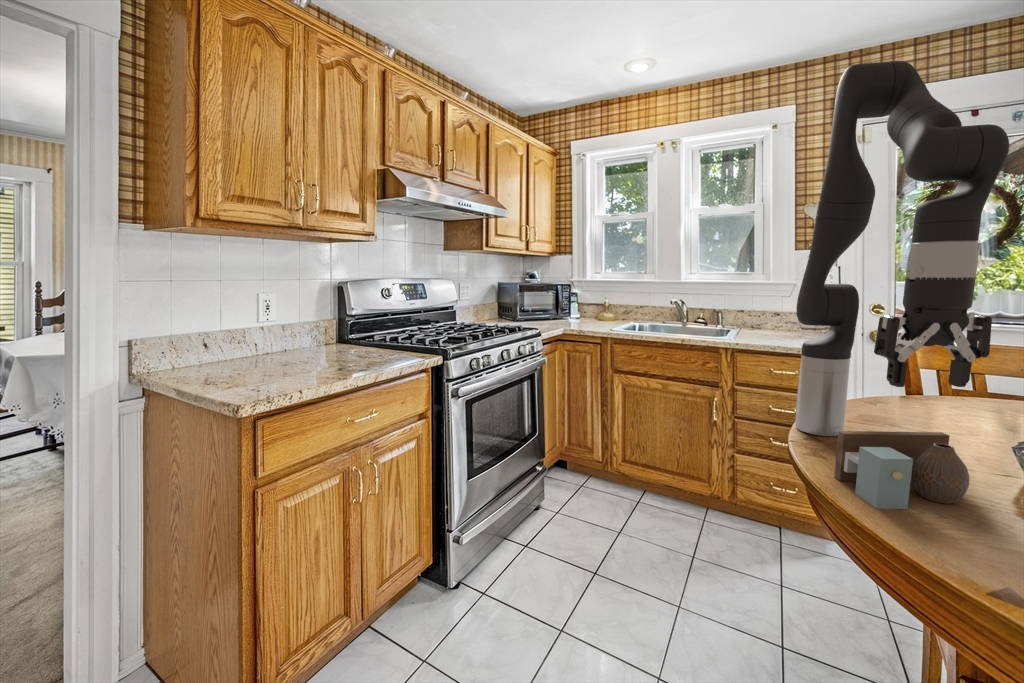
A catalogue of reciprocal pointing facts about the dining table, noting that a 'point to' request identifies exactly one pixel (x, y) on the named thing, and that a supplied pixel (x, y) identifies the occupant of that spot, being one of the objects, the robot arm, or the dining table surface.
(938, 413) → the dining table surface
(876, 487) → the cabinet
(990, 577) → the dining table surface
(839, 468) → the wall board
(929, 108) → the robot arm
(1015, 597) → the dining table surface
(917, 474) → the vase
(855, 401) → the dining table surface
